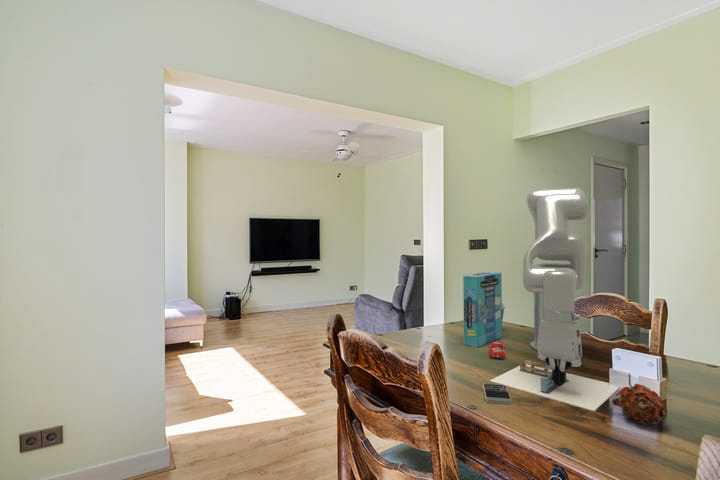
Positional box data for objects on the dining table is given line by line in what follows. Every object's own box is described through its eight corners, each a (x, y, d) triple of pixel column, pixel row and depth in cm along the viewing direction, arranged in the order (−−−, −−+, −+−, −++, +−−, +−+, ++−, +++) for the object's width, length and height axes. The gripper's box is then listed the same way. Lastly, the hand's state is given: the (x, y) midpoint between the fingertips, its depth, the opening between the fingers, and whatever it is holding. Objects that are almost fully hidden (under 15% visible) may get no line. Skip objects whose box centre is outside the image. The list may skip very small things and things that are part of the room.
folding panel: (561, 377, 112) (561, 366, 112) (566, 379, 111) (566, 367, 111) (540, 390, 103) (540, 377, 103) (545, 391, 102) (545, 379, 102)
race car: (505, 361, 131) (505, 349, 131) (489, 360, 133) (488, 348, 133) (505, 350, 143) (504, 339, 143) (489, 349, 145) (489, 338, 145)
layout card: (524, 364, 127) (524, 363, 127) (621, 386, 107) (621, 385, 107) (489, 381, 112) (489, 380, 112) (594, 411, 92) (594, 410, 92)
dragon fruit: (653, 441, 81) (623, 423, 93) (687, 417, 81) (652, 402, 93) (625, 406, 83) (598, 392, 95) (657, 382, 83) (626, 372, 95)
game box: (488, 335, 165) (487, 271, 165) (502, 337, 160) (502, 272, 160) (463, 344, 150) (462, 275, 150) (478, 348, 146) (477, 276, 146)
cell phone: (505, 390, 107) (505, 384, 107) (512, 407, 96) (512, 401, 96) (482, 388, 108) (482, 383, 108) (486, 405, 98) (486, 399, 98)
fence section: (520, 371, 120) (520, 358, 120) (522, 370, 121) (521, 357, 121) (558, 381, 112) (558, 367, 112) (559, 379, 113) (559, 366, 113)
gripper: (593, 317, 102) (594, 387, 102) (535, 310, 112) (536, 374, 112) (585, 322, 96) (586, 396, 96) (524, 314, 107) (525, 381, 107)
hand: (559, 384), depth 104 cm, fingers closed
